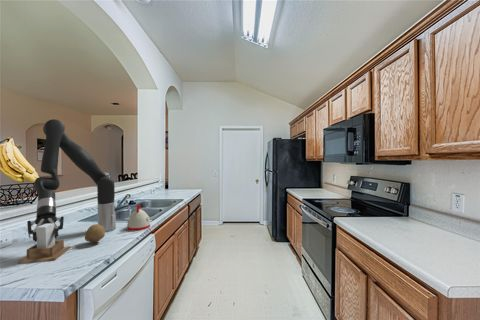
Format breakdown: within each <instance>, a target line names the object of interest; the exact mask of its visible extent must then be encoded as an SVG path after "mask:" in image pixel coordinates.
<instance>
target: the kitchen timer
mask: <svg viewBox="0 0 480 320" xmlns="http://www.w3.org/2000/svg"><path fill="white" fill-rule="evenodd" d="M141 207H142V206H141V205H140V204H137V205H136V210H134V211H133V212H132V213H131V214H130V216H129V217H128V218H127V224H126V230H128V231H129V232H130V231H131V232H132V231H133V232H134V231H135V232H136V231H143V230H144V231H145V230H147V229H150V227H151V219H150V216H149V215H148V214H147V212H146V211H145V210H143V209H141Z"/></svg>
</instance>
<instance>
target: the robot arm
mask: <svg viewBox="0 0 480 320" xmlns="http://www.w3.org/2000/svg"><path fill="white" fill-rule="evenodd" d="M65 129H66V128H65V124H64V123H63V122H62V121H60V120H59V119H49V120H47V121H46V122H45V123H44V125H43V127H42V131H43V133H44V135H45V145H44V149H43V153H42V158H41V165H40V172H42V173H44V174H47V175H50V177H48V176H47V177H46V176H45V177H44V176H39V177H37V178H36V179H35V180H34V181H33V182H34V183H33V184H34V185H33V186H34V189H35V191H36V194H37V204H36V216H35V220H28V221H27V224H26V225H27V226H26V227H27V234H28V235H32V241H34V242H36V243H37V236H36V227H39V226H41V225H43V224H48V223H54V228H55V229H54V237H55V239H57V238H58V236H59V231H60V230H63V229H64V222H65V220H64V219H65V216H63V215H62V216H61V217H57V203H56V192H55V191H56V190H58V189H59V188H60V180H59V175H58V165H59V154H60V149H61V150H62V152H63V153H64V155H66V156H67V157H68V159H69V160H70V161H71V162H72V163H74V165H75V166H76V167H77V168H78V169H80V170H81V171H82V172H84V173H85V174H86V175H88V177H90V179H92V181H93V183H95V185H96V187H97V188H96V189H97V192H96V193H97V194H96V195H97V199H96V200H97V224H99V225H101V226H102V227H103V228H104V230H105V233H106V232H111V231H114V230H115V229H116V228H117V225H116V223H117V221H116V219H117V218H116V215H117V214H116V213H115V197H116V195H115V189H116V187H115V181H114V180H113V179H112V178H111V177H110V176H109V175H107V174H106V173H105V172H104V171H103V170H102V169H101V168H100V166H99V165H98V164H97V163H96V161H95V159H93V157H92V155H90V154H89V152H87V151H86V150H85V149H84V148H83V147H82V146H80V145H78V143H76V142H74V141H73V140H72V139H71V138H70V137H69V136H68V134H66V132H65ZM57 221H58V223H59V226H58V224H57ZM34 225H36V226H35V227H34V229H32V227H33V226H34Z"/></svg>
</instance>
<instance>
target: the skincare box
mask: <svg viewBox="0 0 480 320" xmlns="http://www.w3.org/2000/svg"><path fill="white" fill-rule="evenodd" d="M35 228H36V236H37V241H36V244H37V248H48V247H52V246H54V245H55V241H56V238H55V237H54V229H55V228H54V223H48V224H43V225H41V226H39V227H36V226H35Z"/></svg>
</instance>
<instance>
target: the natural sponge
mask: <svg viewBox="0 0 480 320" xmlns="http://www.w3.org/2000/svg"><path fill="white" fill-rule="evenodd" d="M105 235H106V232H105V230H104V228H103V227H102V226H101V225H99V224H98V223H95V224H92V225H90V226H89V227H88V228H87V230H86V231H85V234H84V241H86V242H88V243H92V244H97V243H98V242H99V241H102V239H103V238H104V237H105Z"/></svg>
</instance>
